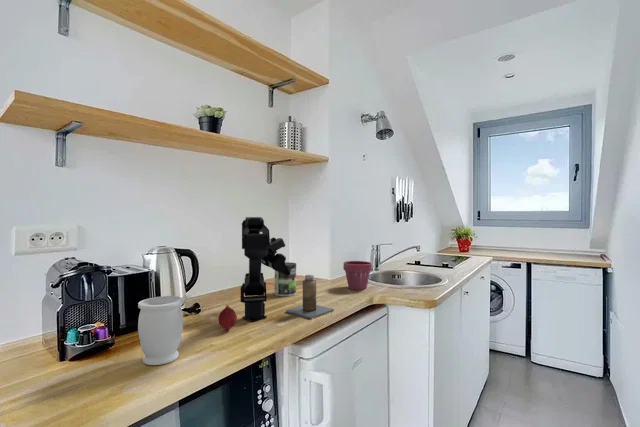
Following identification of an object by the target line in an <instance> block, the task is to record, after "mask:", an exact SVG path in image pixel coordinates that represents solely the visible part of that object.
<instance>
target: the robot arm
mask: <svg viewBox="0 0 640 427" xmlns="http://www.w3.org/2000/svg"><path fill="white" fill-rule="evenodd" d="M244 218H245V219H243V220H242V223H241V249H242V250H244V251H243V252H244V257H246V258H248V272H246V273H245V275H244V282H242V285H241V287H240V303H242V304H244V315H243V316H241V318H242V320H243V319H244V320H245V321H246V320H247V321H249V322H252V323H253V322H257V321H259V320H263V319H265V318H267V317H268V315H265V314H266V313H265V312H266V305H265V304H266V303H265V302H267V295H268V294H267V282H266V281H265V276H264V273H263V272H262V265H263V266H265V267H267V268H271V269H272V270H273V271H274V272H275V271H278V272H281V273H283V274H286V275H288V276H289V275H290V272H289V270H288V268H287V267H286V265H285V262H287V261H286V260H287V257H286V256H285V255H284V254H283V253H277V252H278V251H279V250H281V249H282V248H285V247H286V243H285V240H284V239H283V238H281V237H280V238H275V237H271V238H270V229H269V228H268V226H266V225H265V220H264V219H263V217H262V216H246V217H244Z"/></svg>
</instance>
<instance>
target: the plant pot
mask: <svg viewBox="0 0 640 427" xmlns="http://www.w3.org/2000/svg"><path fill="white" fill-rule="evenodd" d="M372 264H373V263H372V262H369V261H363V260H350V261H349V260H348V261H344V262H343V270H344V272H345V276H346V283H347V285H348V288H349V289H351V290H357V291H358V290H360V291H361V290H366V289H367V288H368V283H369V278H370V273H371V272H372V270H373V265H372Z"/></svg>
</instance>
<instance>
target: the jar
mask: <svg viewBox="0 0 640 427" xmlns="http://www.w3.org/2000/svg"><path fill="white" fill-rule="evenodd" d="M183 301H184V300H183V297H181V296H178V295H177V296H175V295H174V296H173V295H165V296H155V297H151V298H150V297H148V298H146V299H143V300H140V301H139V302H138V303H137V304H138V305H137V308H138V309H140V311H139V315H138V323H137V333H138V338H139V343H140V347H141V351H142V353H143V354H144V356H143V358H142V363H143V364H145V365H148V366H161V365H165V364H166V365H167V364H168V363H171V362H174V361H175V360H176V359H178V357H179V355H180V353H179V351H178V348H179V346H180V343H181V339H182V332H183V327H184V315H183V314H184V313H183V309H182V306H181V305H182V304H183Z"/></svg>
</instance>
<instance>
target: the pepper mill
mask: <svg viewBox="0 0 640 427" xmlns="http://www.w3.org/2000/svg"><path fill="white" fill-rule="evenodd" d="M314 276H315V275H314V274H306V275H305V276H304V279H303V280H302V305H303V311H306V312H312V311H316V305H317V280H316V279H314V278H315V277H314Z"/></svg>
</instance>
